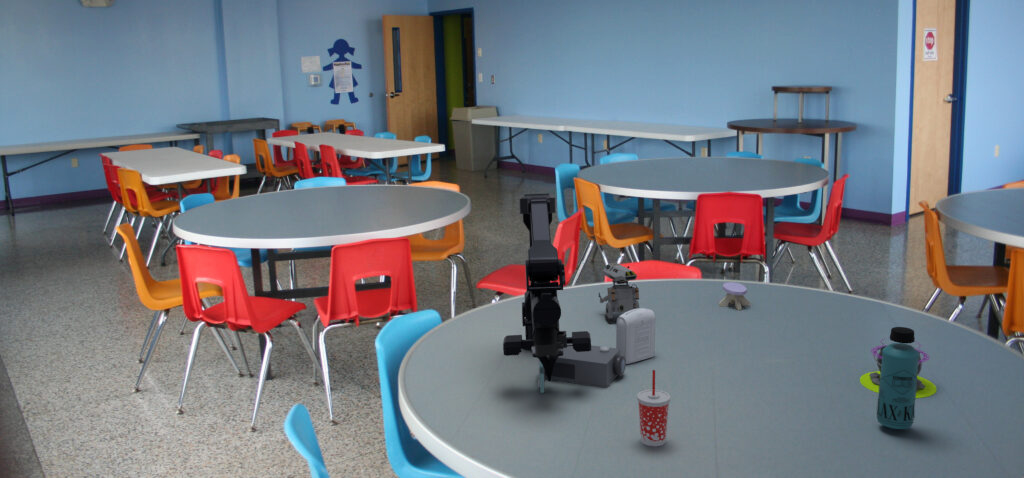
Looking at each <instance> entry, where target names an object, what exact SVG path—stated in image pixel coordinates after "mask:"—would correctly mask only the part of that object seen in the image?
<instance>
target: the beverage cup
mask: <svg viewBox="0 0 1024 478" xmlns="http://www.w3.org/2000/svg"><path fill="white" fill-rule="evenodd" d="M651 380H652V381H651V382H652V383H651V385H652V389H644V390H642V391H639V392H638V393H637V394H636V397H637V398H636V400H637V402H638V413H639V414H638V415H639V417H638V418H639V429H640V430H639V432H640V433H639V434H640V442H641V443H642V444H643V445H646V446H648V447H661V446H663V445H665V444H666V442H667V431H668V430H667V429H668V418H669V417H668V416H669V404H670V402H671V395H670V394H669V393H668V392H666V391H665V390H660V389H656V370H655V369H653V370H652V379H651Z"/></svg>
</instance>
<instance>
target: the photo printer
mask: <svg viewBox="0 0 1024 478" xmlns="http://www.w3.org/2000/svg"><path fill="white" fill-rule="evenodd" d="M615 329H616V332H615V333H616V334H615V335H616V336H615V338H616V339H615V345H616V346H615V348H617V349H620V355H621V356H624V357H625V360H626V365H629V364H633V363H636V362H639V361H640V362H641V361H644V360H647V359H651V358H653V357H655V354H656V315H655V313H654V311H653V310H652V309H648V308H646V307H645V308H644V307H639V308H638V309H633V310H630V311H628V312H623V313H622V314H621V315H619V316H618V317H617V319H616V328H615Z"/></svg>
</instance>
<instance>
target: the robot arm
mask: <svg viewBox="0 0 1024 478" xmlns="http://www.w3.org/2000/svg"><path fill="white" fill-rule="evenodd" d="M518 201H519V202H518V205H519V206H518V207H519V208H518V209H519V210H518V211H519V215H522V222H523V224H524V226H525V228H526V229H527V230H528V235H529V236H528V237H529V239H528V240H529V242H528V243H529V249H528V251H527V257H528V258H527V259H525V261H524V262H525V263H524V265H525V266H524V267H525V287H526V290H525V293H524V302H521V322H522V323H521V324H522V327H524V329H525V331H524V332H525V333H524V334H525V339H523V335H522V334H513V335H511V334H510V335H509V334H508V335H506V336H505V337H504V339H503V343H502V346H503V347H502V349H503V350H502V351H503V352H502V353H503V356H506V357H509V356H519V355H520V354H521V353H522V350H523V349H524V350H531V356H532V358H536V359H538V361H539V360H540V362H541V364H542V365H543V367H544V370H545V372H546V374H547V377H548V379H547V381H548V382H552V380H551V376H552V372H553V368H554V365H555V362H556V360H557V358H558V357H559V356H563V348H567V346H573V349H574V350H575V351H576V352H586V351H591V345H592V339H591V334H590V332H588V331H587V330H586V331H585V330H584V331H571V336H569V337H567V336H568V335H567V331H566V330H561V329H560V319H561V317H562V309H561V305H560V301H559V298H558V291H564V286H565V285H566V282H567V281H566V272H565V264H564V263H563V260H562V259H561V258H559V254H558V249H557V248H556V246H554V245H553V244H552V239H551V229H550V226H551V224H552V222H553V214H555V213H556V197H551V196H550V193H547V192H546V193H524V194H523V197H521V198H519V200H518ZM558 280H559V282H558ZM548 356H549V360H548Z"/></svg>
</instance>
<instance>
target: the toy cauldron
mask: <svg viewBox="0 0 1024 478" xmlns="http://www.w3.org/2000/svg"><path fill="white" fill-rule="evenodd" d="M884 340H886V337H885V338H883V339H880V343H881V345H877V346H876V345H875V346H874V347H871V348H870V353H871V354H872V356H873V359H874V361H875V362H876V365H877V368H878V370H877V371H869V372H866V373H863V374H862V375H861V376H860V378H859V382H860V384H861V385H862V386H863V387H864V388H866V389H867V390H869V391H871V392H874V393H876V394H879V388H878V387H879V386H880V382H879V381H880V380H879V379H880V376H881V365H882V354H883V353H882V350H883V348H885V347H886V346H888V345H889V344H883V341H884ZM917 344H918V345H919V347H917V348H915V349H916V350H917V351H918V352H919V361H918V372H917V386H916V392H917V393H916V394H917V396H915V399H923V398H929V397H932V396H934V395H935V394H936V393H937V391H938V390H937V386H936V384H934V383H933V382H932V381H930V380H929V379H926V378H925V377H922V376H919V375H920V373H921V371H922V365H923V363H925V362H927V361H929V360H930V359H931V357H930V355H928V354H927V353H926V352H925V351H923V350H921V349H920V348H922V344H920V342H917ZM877 351H879V353H878V352H877ZM921 354H922V356H923V358H921ZM876 358H877V359H876Z"/></svg>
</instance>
